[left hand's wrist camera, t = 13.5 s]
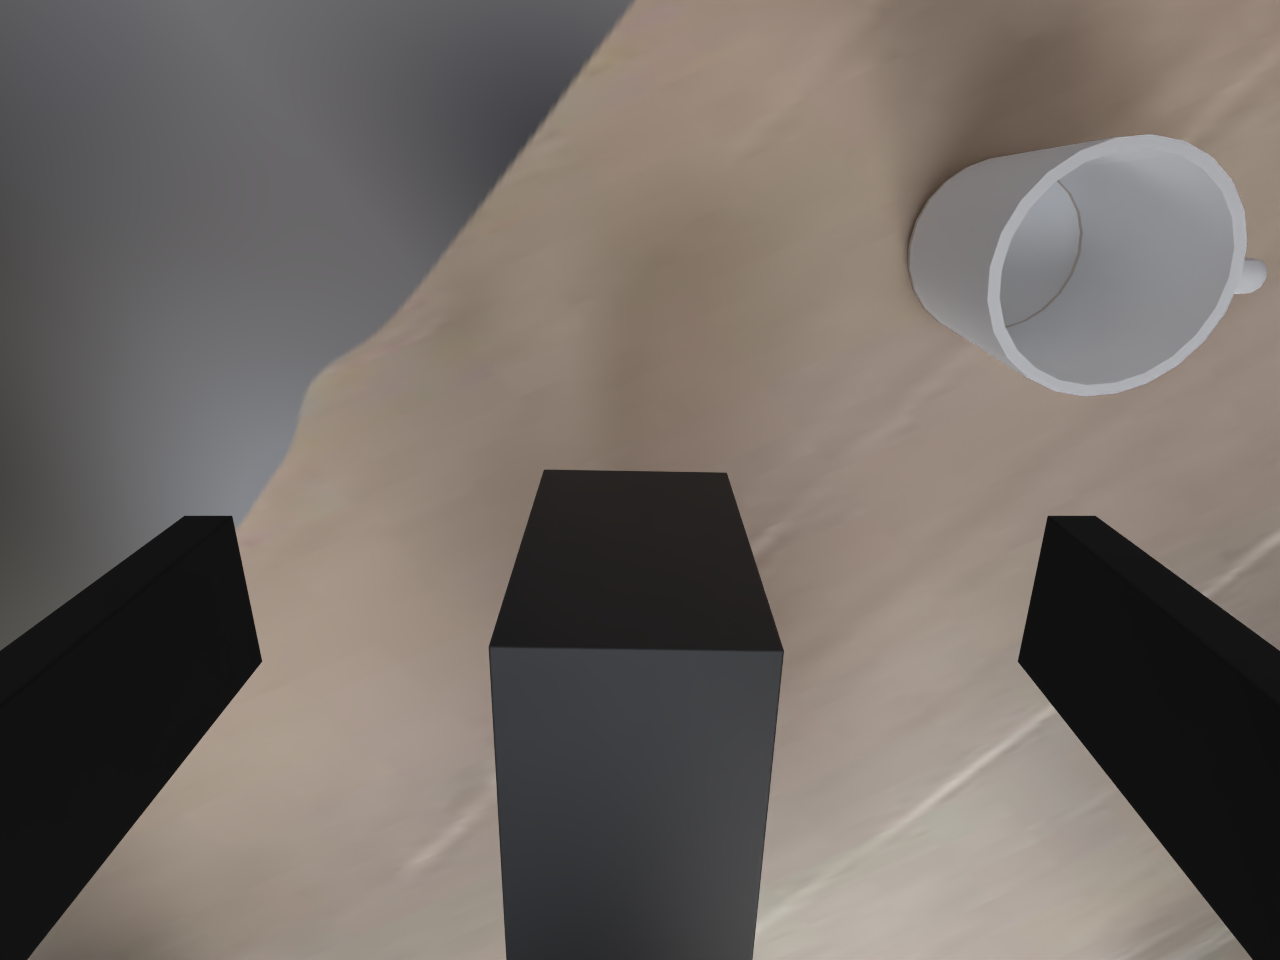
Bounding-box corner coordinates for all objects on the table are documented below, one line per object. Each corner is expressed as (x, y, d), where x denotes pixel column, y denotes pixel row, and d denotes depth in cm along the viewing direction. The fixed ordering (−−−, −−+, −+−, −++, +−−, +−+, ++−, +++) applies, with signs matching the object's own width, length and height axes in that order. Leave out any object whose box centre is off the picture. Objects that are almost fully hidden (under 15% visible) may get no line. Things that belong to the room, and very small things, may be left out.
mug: (882, 338, 38) (964, 391, 29) (913, 141, 35) (1018, 127, 26) (1102, 347, 39) (1256, 403, 29) (1153, 153, 35) (1345, 143, 26)
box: (543, 469, 29) (487, 646, 18) (726, 472, 29) (784, 650, 18) (556, 967, 38) (524, 1286, 27) (694, 968, 39) (719, 1286, 27)
